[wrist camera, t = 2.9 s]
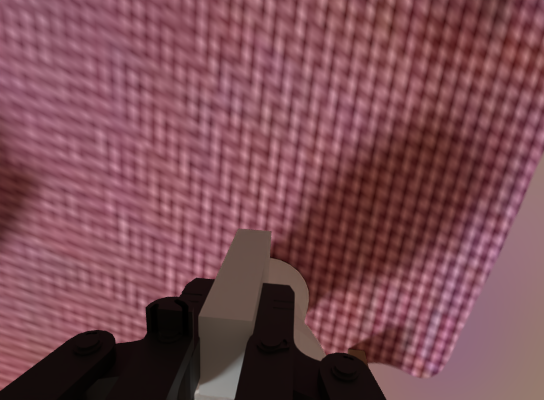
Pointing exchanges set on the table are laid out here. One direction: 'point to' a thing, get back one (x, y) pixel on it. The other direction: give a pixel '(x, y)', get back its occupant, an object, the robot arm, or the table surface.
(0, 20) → the table surface
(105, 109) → the table surface
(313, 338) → the cup
